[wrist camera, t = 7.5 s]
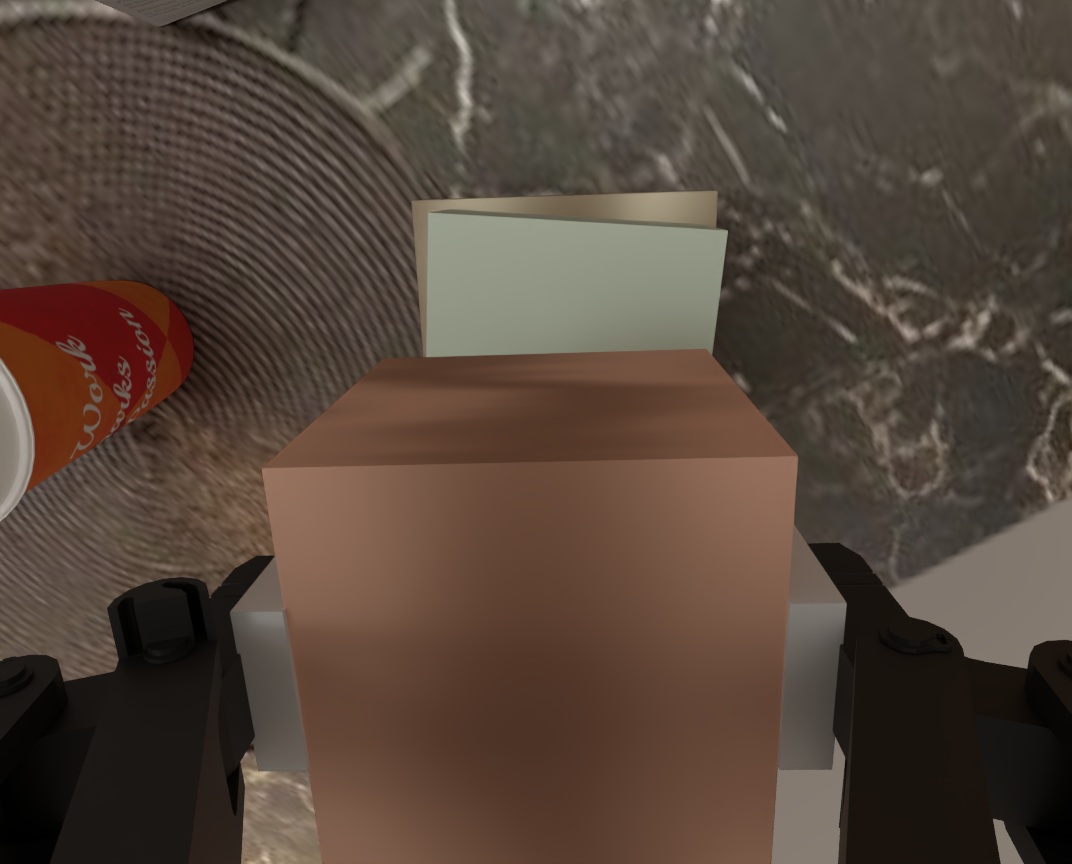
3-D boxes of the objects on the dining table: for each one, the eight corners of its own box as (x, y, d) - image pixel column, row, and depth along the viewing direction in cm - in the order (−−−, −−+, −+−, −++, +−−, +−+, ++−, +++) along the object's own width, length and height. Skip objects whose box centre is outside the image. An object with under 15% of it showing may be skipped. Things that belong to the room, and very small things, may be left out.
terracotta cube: (411, 637, 19) (325, 880, 12) (383, 358, 17) (262, 468, 10) (698, 634, 19) (769, 882, 12) (706, 348, 17) (798, 456, 10)
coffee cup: (175, 452, 39) (-51, 605, 25) (24, 365, 38) (-303, 472, 24) (248, 314, 37) (46, 394, 22) (90, 217, 36) (-228, 236, 21)
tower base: (449, 447, 39) (433, 483, 34) (432, 199, 35) (411, 201, 30) (689, 443, 38) (706, 479, 34) (696, 190, 35) (717, 190, 30)
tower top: (444, 447, 34) (424, 490, 29) (449, 209, 31) (428, 212, 26) (674, 462, 33) (692, 508, 29) (702, 224, 30) (727, 230, 26)
